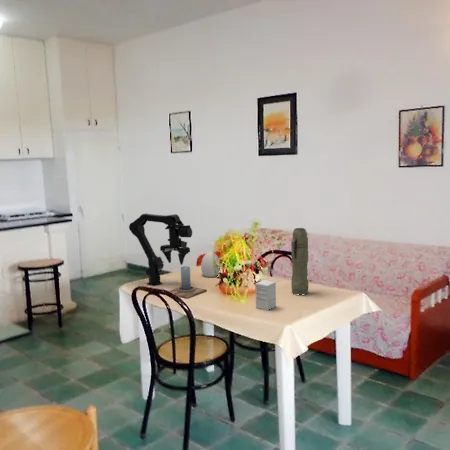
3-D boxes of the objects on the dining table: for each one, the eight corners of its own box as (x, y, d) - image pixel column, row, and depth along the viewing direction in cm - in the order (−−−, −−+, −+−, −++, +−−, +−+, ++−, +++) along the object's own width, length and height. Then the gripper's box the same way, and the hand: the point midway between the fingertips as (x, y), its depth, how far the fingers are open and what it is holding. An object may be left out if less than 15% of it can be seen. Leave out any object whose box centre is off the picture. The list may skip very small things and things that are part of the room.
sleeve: (180, 290, 270) (179, 267, 268) (189, 288, 272) (188, 266, 269) (183, 292, 265) (182, 269, 263) (191, 291, 267) (191, 268, 265)
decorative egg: (221, 277, 298) (220, 253, 296) (201, 278, 298) (200, 254, 295) (221, 272, 310) (220, 249, 308) (201, 273, 310) (200, 250, 307)
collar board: (165, 293, 267) (165, 289, 267) (185, 287, 280) (185, 282, 279) (187, 298, 257) (187, 294, 257) (206, 291, 270) (206, 287, 269)
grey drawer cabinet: (264, 304, 245) (263, 279, 244) (276, 306, 241) (276, 281, 239) (255, 308, 240) (254, 283, 238) (267, 310, 235) (267, 285, 233)
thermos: (286, 294, 261) (286, 229, 256) (298, 289, 270) (298, 226, 264) (300, 297, 255) (300, 231, 250) (312, 292, 264) (312, 227, 259)
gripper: (195, 236, 278) (197, 262, 281) (172, 233, 290) (173, 259, 292) (182, 239, 270) (183, 266, 272) (158, 236, 281) (160, 263, 284)
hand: (175, 263), depth 280 cm, fingers open, 9 cm apart
